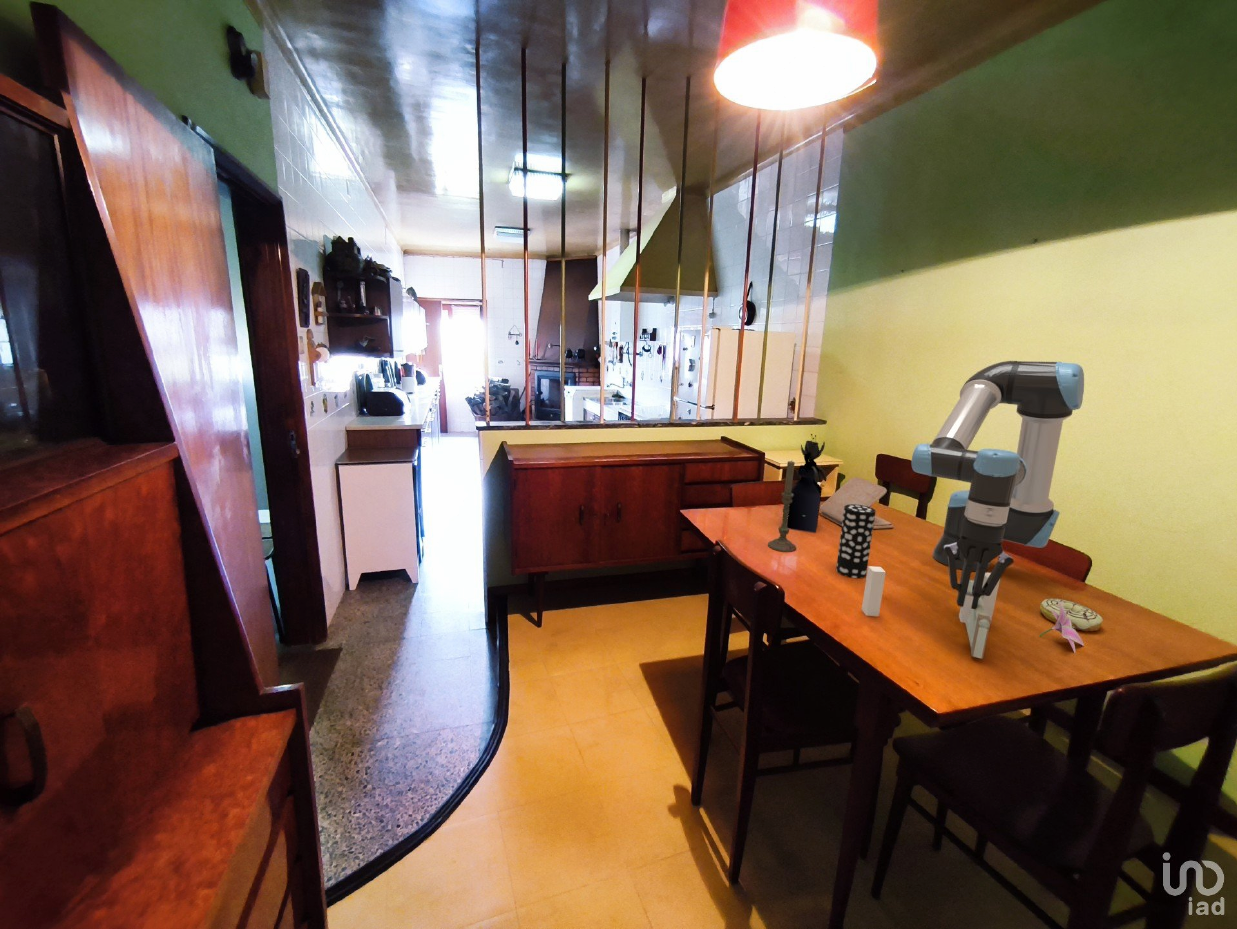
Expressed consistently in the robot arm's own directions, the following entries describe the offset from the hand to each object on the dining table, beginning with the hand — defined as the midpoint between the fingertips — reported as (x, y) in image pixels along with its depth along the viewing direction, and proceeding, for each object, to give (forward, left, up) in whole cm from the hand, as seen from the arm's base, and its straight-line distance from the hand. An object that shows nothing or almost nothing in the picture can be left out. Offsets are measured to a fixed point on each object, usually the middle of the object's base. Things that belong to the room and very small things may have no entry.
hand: (963, 619), depth 116 cm
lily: (-24, -3, -6) cm, 25 cm away
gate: (-4, -3, -5) cm, 7 cm away
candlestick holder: (+27, -55, -6) cm, 61 cm away
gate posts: (+2, -12, -6) cm, 13 cm away
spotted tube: (+11, -37, -6) cm, 39 cm away
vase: (+14, -77, -6) cm, 78 cm away
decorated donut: (-34, -14, -6) cm, 38 cm away
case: (-9, -87, -6) cm, 88 cm away
